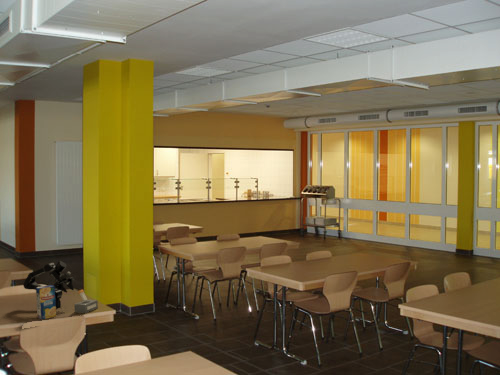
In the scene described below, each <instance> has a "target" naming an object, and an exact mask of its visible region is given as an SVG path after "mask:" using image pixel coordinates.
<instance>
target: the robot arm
mask: <svg viewBox="0 0 500 375" xmlns="http://www.w3.org/2000/svg"><path fill="white" fill-rule="evenodd" d="M67 266H68V265H67V263H66V262H63V261H61V260H59V261H57V263H54V262H50V263H47V264H45V265H43V267H41V268H39V269H37V270H34V271H31V272H29V273H28V275H27V277H26V278H25V280H24V283H23V288H24V289H25V290H35V291H36V288H37V287H42V286H43V285H40V284H38V283H37V282H36V280H37V279H36V277H37V276H39V275H42V274H43V273H48V272H49V275H48V276H49V277H51V276H52V277H53V279H54V283H53V285H52V286H55V304H56V309H60V308H62V307H61V305H62V304H61V302H62V301H61V300H60V299H62V296H63V294H64V293H66V294H67V293H68V290H67V289H66V288H65V286H64V284H66V287H67V288H69V289H70V290H71V291H74V290H75V289H74V286H73V282H74V281H75V278H74V277H73V276H72V277H71V275H72V273H71V272H70V271H67V272H66V273H62V272H64V270H65V269H66V268H67Z"/></svg>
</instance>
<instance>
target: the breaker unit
mask: <svg viewBox="0 0 500 375" xmlns="http://www.w3.org/2000/svg"><path fill="white" fill-rule="evenodd" d="M98 304H99V301H98V300H97V299H87V300H86V301H83V300H82V301H79V302H76V303H74V305H73V306H74V313H78V314H88V313H89V311H90V312H91V311H94V310H96V309H98V308H99V305H98Z"/></svg>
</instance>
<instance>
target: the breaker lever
mask: <svg viewBox="0 0 500 375" xmlns="http://www.w3.org/2000/svg"><path fill="white" fill-rule="evenodd" d="M77 293H78V294H79V295H80V297H81V300H82V301H86V300H88V297H87V296H86V293H85V290H84V289H79V290H78V291H77Z"/></svg>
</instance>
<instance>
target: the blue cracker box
mask: <svg viewBox="0 0 500 375" xmlns="http://www.w3.org/2000/svg"><path fill="white" fill-rule="evenodd" d="M35 295H36V296H35V298H36V310H37V317H36V318H38V319H40V320H45V319H49V318H54V317H55V318H56V317H57V308H56V304H55V286H53V285H52V284H48V285H42V287H37V288H36V290H35Z"/></svg>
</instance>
